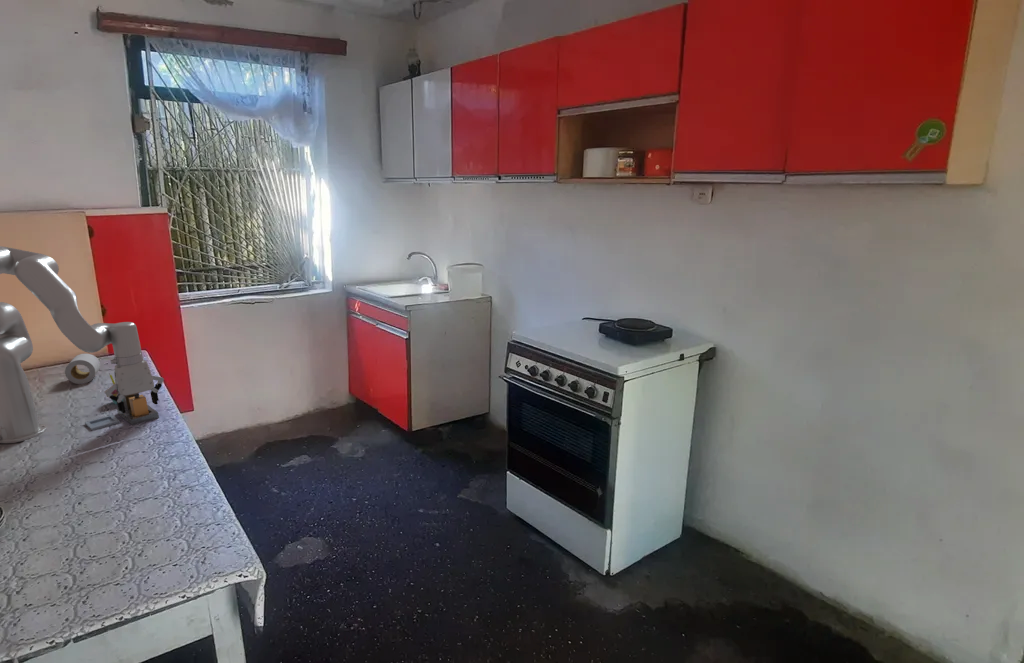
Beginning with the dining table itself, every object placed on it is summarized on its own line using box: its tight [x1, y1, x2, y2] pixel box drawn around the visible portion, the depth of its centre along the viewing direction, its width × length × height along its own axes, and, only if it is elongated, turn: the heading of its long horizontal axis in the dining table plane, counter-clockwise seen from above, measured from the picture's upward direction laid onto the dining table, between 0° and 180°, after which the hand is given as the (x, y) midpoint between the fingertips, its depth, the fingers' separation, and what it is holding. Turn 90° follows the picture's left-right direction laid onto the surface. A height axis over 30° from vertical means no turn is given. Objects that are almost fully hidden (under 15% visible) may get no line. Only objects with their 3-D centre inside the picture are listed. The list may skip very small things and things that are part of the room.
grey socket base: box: [116, 393, 160, 426], centre depth 200 cm, size 16×8×10 cm, turn 48°
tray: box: [84, 414, 121, 431], centre depth 195 cm, size 8×8×1 cm
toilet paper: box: [64, 353, 101, 385], centre depth 239 cm, size 10×10×10 cm
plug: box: [129, 393, 149, 417], centre depth 198 cm, size 4×4×9 cm
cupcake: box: [105, 373, 123, 405], centre depth 213 cm, size 9×8×12 cm
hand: (139, 407), depth 198 cm, fingers open, 9 cm apart
